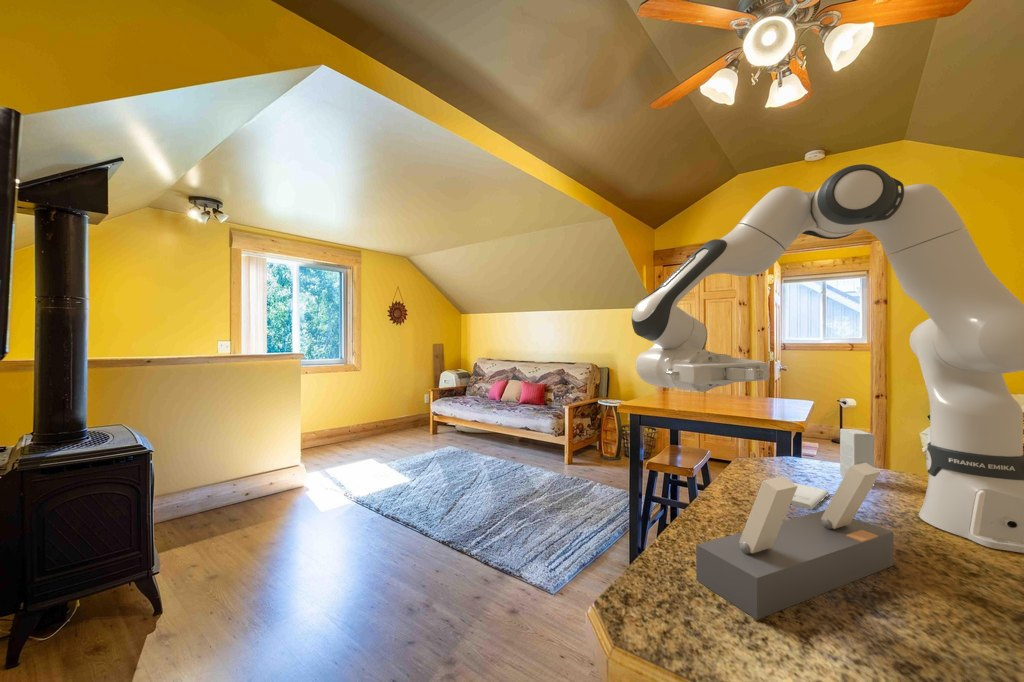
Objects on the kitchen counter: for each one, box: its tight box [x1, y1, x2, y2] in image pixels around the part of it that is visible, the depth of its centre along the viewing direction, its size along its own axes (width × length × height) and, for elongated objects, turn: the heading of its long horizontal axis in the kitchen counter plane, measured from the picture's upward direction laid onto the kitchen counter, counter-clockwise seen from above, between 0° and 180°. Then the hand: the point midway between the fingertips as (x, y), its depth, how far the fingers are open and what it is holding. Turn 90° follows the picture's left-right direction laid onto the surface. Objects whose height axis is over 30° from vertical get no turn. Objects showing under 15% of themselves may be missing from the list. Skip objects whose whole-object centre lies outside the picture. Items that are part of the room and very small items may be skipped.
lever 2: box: [821, 463, 882, 529], centre depth 62 cm, size 2×4×11 cm, turn 114°
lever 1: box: [739, 476, 798, 554], centre depth 55 cm, size 2×4×11 cm, turn 114°
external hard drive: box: [790, 482, 829, 510], centre depth 89 cm, size 2×8×12 cm
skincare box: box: [839, 428, 875, 478], centre depth 99 cm, size 6×4×12 cm
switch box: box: [695, 509, 894, 620], centre depth 60 cm, size 9×30×5 cm, turn 114°
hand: (759, 374), depth 74 cm, fingers closed
